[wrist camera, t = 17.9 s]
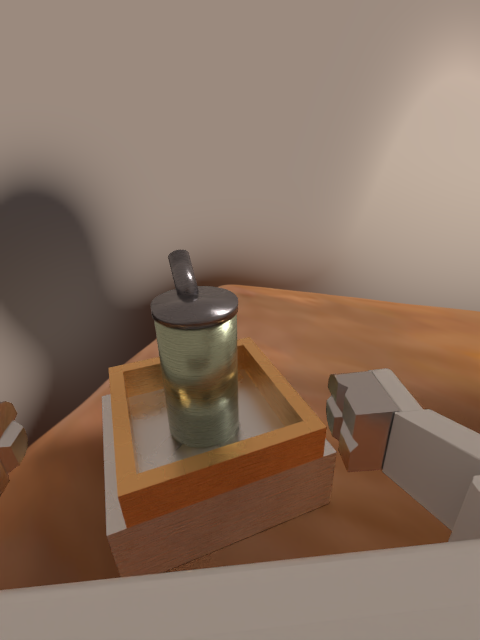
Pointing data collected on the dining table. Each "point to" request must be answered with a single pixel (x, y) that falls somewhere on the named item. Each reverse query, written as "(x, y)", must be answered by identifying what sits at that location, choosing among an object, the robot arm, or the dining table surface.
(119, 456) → the open wooden box
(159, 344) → the glass jar with lid
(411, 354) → the dining table surface
